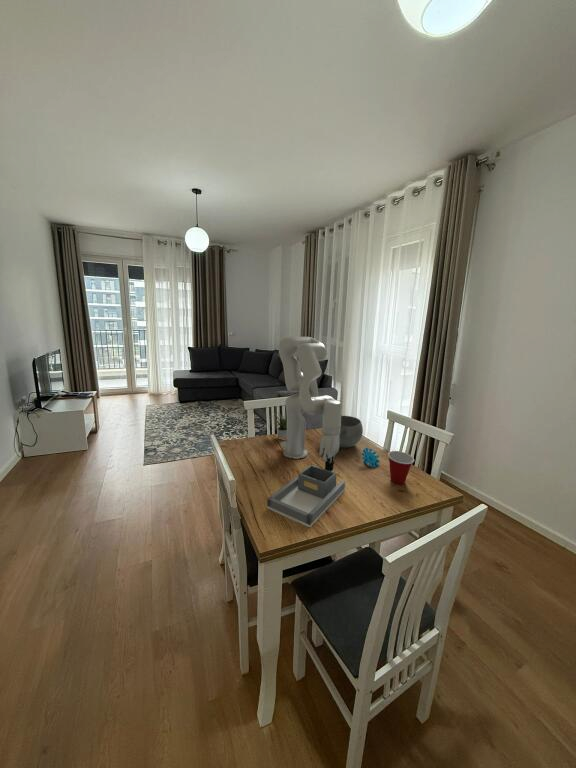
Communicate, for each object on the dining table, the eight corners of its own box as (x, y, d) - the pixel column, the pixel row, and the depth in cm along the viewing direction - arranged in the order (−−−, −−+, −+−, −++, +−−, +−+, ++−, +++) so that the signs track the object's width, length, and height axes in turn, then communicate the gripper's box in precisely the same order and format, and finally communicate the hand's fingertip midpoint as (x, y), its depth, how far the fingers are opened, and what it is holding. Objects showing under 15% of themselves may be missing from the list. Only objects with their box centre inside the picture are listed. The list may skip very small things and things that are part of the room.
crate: (297, 489, 123) (297, 474, 122) (310, 478, 131) (311, 464, 130) (323, 499, 116) (324, 484, 115) (335, 488, 125) (336, 473, 123)
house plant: (264, 440, 174) (264, 413, 170) (274, 432, 186) (274, 406, 183) (287, 445, 169) (288, 416, 165) (296, 436, 181) (297, 410, 178)
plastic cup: (405, 491, 126) (408, 464, 123) (380, 481, 133) (383, 455, 131) (415, 481, 133) (418, 456, 131) (392, 472, 141) (394, 448, 138)
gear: (368, 467, 141) (360, 447, 146) (360, 472, 146) (353, 452, 151) (384, 465, 147) (376, 446, 152) (376, 470, 151) (369, 451, 156)
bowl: (342, 435, 184) (344, 412, 181) (369, 447, 167) (371, 421, 164) (316, 442, 172) (317, 417, 169) (341, 456, 156) (343, 428, 153)
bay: (267, 508, 112) (267, 498, 111) (306, 477, 135) (307, 468, 134) (309, 527, 102) (310, 517, 101) (344, 490, 125) (345, 481, 124)
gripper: (331, 422, 136) (329, 461, 140) (314, 432, 124) (312, 474, 128) (346, 426, 132) (344, 465, 136) (331, 437, 120) (329, 479, 123)
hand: (329, 469), depth 132 cm, fingers closed
